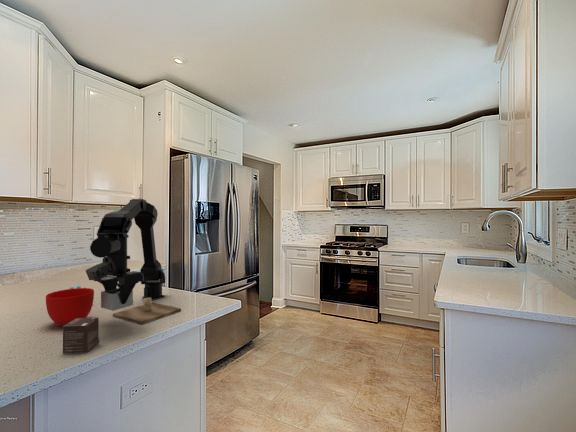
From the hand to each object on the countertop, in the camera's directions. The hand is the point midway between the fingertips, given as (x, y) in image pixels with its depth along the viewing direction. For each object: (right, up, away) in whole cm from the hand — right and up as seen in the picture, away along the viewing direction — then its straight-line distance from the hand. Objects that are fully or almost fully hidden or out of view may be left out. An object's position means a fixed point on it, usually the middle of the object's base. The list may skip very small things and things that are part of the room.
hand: (117, 302), depth 97 cm
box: (-1, -8, -16) cm, 18 cm away
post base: (+4, -8, +13) cm, 16 cm away
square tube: (0, -1, 0) cm, 1 cm away
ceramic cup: (-18, -8, +5) cm, 20 cm away
